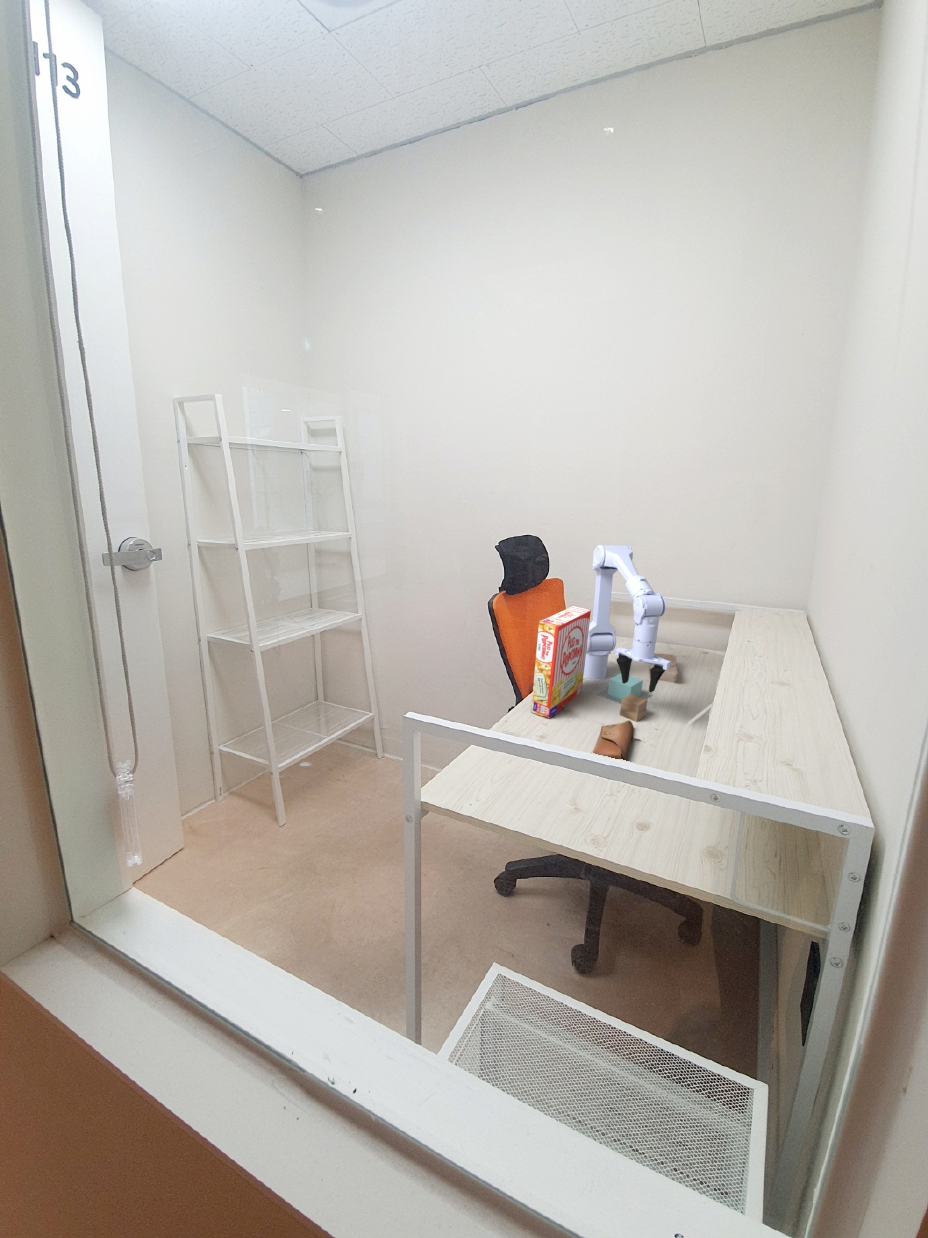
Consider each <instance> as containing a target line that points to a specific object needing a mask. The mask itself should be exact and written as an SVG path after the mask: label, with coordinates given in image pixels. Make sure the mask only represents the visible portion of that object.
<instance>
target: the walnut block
mask: <svg viewBox="0 0 928 1238" xmlns="http://www.w3.org/2000/svg"><path fill="white" fill-rule="evenodd" d="M647 706H648V699H644V698H642V697H639V696H636V695H633V694H629V695H628V696H626V697H625V698H623V699H622V702H621V704H620V711H619V716H621V717H623V718H625V719H629V721H634V722H635V723H637V722H638V721H640V720H641V719H643V718H644V717H646V714H647Z"/></svg>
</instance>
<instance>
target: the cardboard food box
mask: <svg viewBox="0 0 928 1238" xmlns="http://www.w3.org/2000/svg"><path fill="white" fill-rule="evenodd" d="M591 612H592V610H591V609H589V608H585V607H580V606H576V605H572V606H570V607H568V608H565V609H564V610H562V611H560V612H557V613H555V614H553V615H551V616H548V617H547V618H544V619H542V620H539V621H538V630H537V631H538V632H537V642H536V653H535V664H534V665H535V666H534V674H533V675H534V676H533V686H532V696H531V697H532V698H531V705H530V712H531V713H533V714H536V715H539V716H541V717H543V716H545V717H544V718H546V717H550V718H552V717H553V716H554V715H556V714H557V713H558V712H559V711H561V710H563V708H564V706H565V705H566V704H568V703H569V702H570V701H572V700H573V699H574V698H575V697H576V696H578V695H579V694H581V692H582V690H583V684H584V682H583V681H584V666H585V657H586V649H587V640H588V631H589V623H591V621H590V620H591Z"/></svg>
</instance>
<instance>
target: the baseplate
mask: <svg viewBox="0 0 928 1238" xmlns="http://www.w3.org/2000/svg"><path fill="white" fill-rule="evenodd" d="M608 689H609V686H608V687H605V688H603V689H602V690H601V691H599V692H597V693H596V695H597V696H600V697H603V698H605V699H607V700H610V701H613V702H615V703H617V704H620V705H621V702H622V700H621V699H619V698H616V697H614V696H611V695H608ZM639 697H642V698H644V699H647V700H648V699H650V698H651V697H653V694H650V693H647V692H644V691H641V695H640V696H639Z"/></svg>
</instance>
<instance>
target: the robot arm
mask: <svg viewBox="0 0 928 1238" xmlns="http://www.w3.org/2000/svg"><path fill="white" fill-rule="evenodd" d="M633 553H634V551H633V549H632V547H631V546H630V544H623V545H622V544H619V545H618V544H617V545H616V544H608V545H607V544H606V545H604V544H598V545H597V546H596V547H595V548H594V550H593V555H592V570H593V571H595V572H596V573H595V584H594V587H595V588H594V597H593V598H594V599H593V608H592V609H593V611H592V612H593V613H592V621H590V623H589V631H588V640H587V649H586V657H585V666H584V675H583V677H586V678H587V679H592V680H603V679H606V676H607V671H608V670H607V669H608V660H609V655H610V654H611V653H612V651H614V649H615V654H614V656H616V657H617V658H616V663H617V665H618V668H619V671H620V673H621V676H622V683H624V684H625V683H627V682H628V680H629V675H630V672H631V666H632V661H634V662H639V663H644V664H648V665H649V664H650V665H654V667H652V668H651V669H650V672H649V675H650V676H649V680H650V681H649V687H648V692H649V693H653V692H654V691H655V690H656V687H657V685H658V683H659V681H660V680H659V679H660V677H661V676H662V674H663V673H664V672H665V670H668V669H669V668H670V663H671V661H668V660H665V659H663V658H660V657H658V656H656V655H654V653H656V652H655V650H656V644H657V637H658V636H657V635H658V629H659V623H660V617H663V615H664V614H665V612H666V608H667V606H666V605H667V603H666V600H665V598H664V595H662V594H660V593H658V592H655V591H654V590H653V588H652V587H651V585H650V583H649V581H648V580H647V578H646V577H645V576H644V575H639V573H638V570H637V569H636V567H635V563H634V562H633V559H634V554H633ZM617 571H619V573H620V574H621V576H622V577H623V579H624V581H626V583H625V585H624V587H625V589H626V591H627V593H628V595H629V596H630V598H631V600H632V602H633V603H632V610H633V621H634V622H635V623H634V632H633V638H632V645H631V648H624V647H621V646H619V647H617V648H616V646H617V638H616V629H615V628H614V627H613V626H612V625H611V624H610V611H611V603H612V601H611V599H612V588H613V577H614V574H615V573H617Z"/></svg>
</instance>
